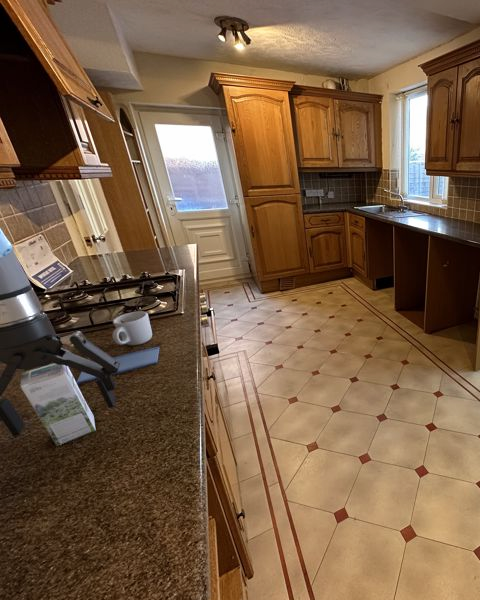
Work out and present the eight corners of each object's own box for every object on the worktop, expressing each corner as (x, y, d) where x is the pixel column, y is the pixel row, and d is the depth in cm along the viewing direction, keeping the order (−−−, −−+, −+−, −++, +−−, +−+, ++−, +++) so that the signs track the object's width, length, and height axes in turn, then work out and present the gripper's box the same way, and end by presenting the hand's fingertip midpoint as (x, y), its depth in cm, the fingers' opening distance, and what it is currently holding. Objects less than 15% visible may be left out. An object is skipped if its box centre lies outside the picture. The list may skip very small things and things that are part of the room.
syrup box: (94, 416, 68) (64, 358, 62) (96, 431, 64) (65, 371, 58) (56, 431, 64) (20, 371, 58) (56, 448, 60) (18, 386, 54)
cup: (135, 353, 89) (125, 328, 86) (107, 354, 89) (95, 328, 86) (162, 334, 99) (153, 310, 96) (136, 334, 99) (127, 311, 96)
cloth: (76, 384, 77) (75, 382, 77) (85, 365, 84) (85, 364, 84) (157, 363, 85) (156, 362, 84) (159, 347, 92) (158, 346, 92)
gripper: (-126, 351, 45) (-38, 459, 53) (103, 309, 56) (144, 403, 65) (-89, 329, 51) (-16, 430, 59) (111, 295, 62) (148, 383, 71)
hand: (68, 416), depth 62 cm, fingers open, 13 cm apart
